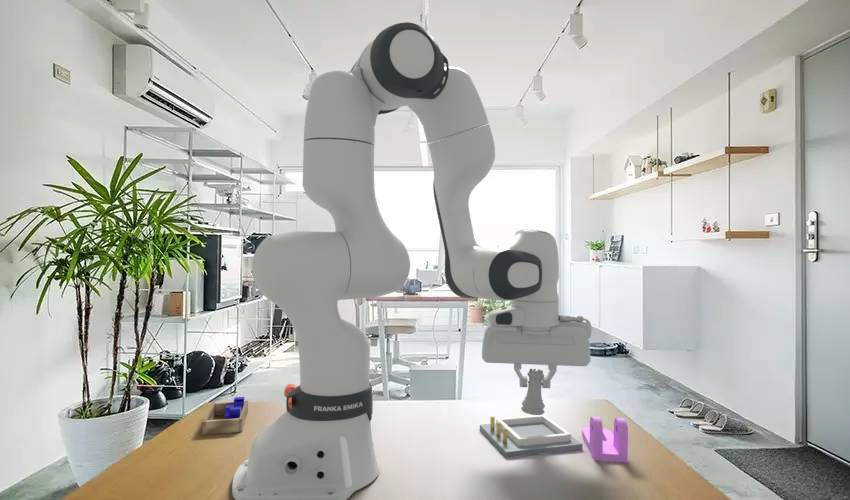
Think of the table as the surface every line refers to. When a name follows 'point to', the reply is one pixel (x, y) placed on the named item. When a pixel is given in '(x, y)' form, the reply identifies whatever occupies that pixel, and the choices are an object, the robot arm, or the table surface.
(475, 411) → the table surface
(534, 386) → the rook chess piece
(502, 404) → the table surface
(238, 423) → the box
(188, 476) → the table surface
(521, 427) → the board
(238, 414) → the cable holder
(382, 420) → the table surface
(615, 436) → the bracket
